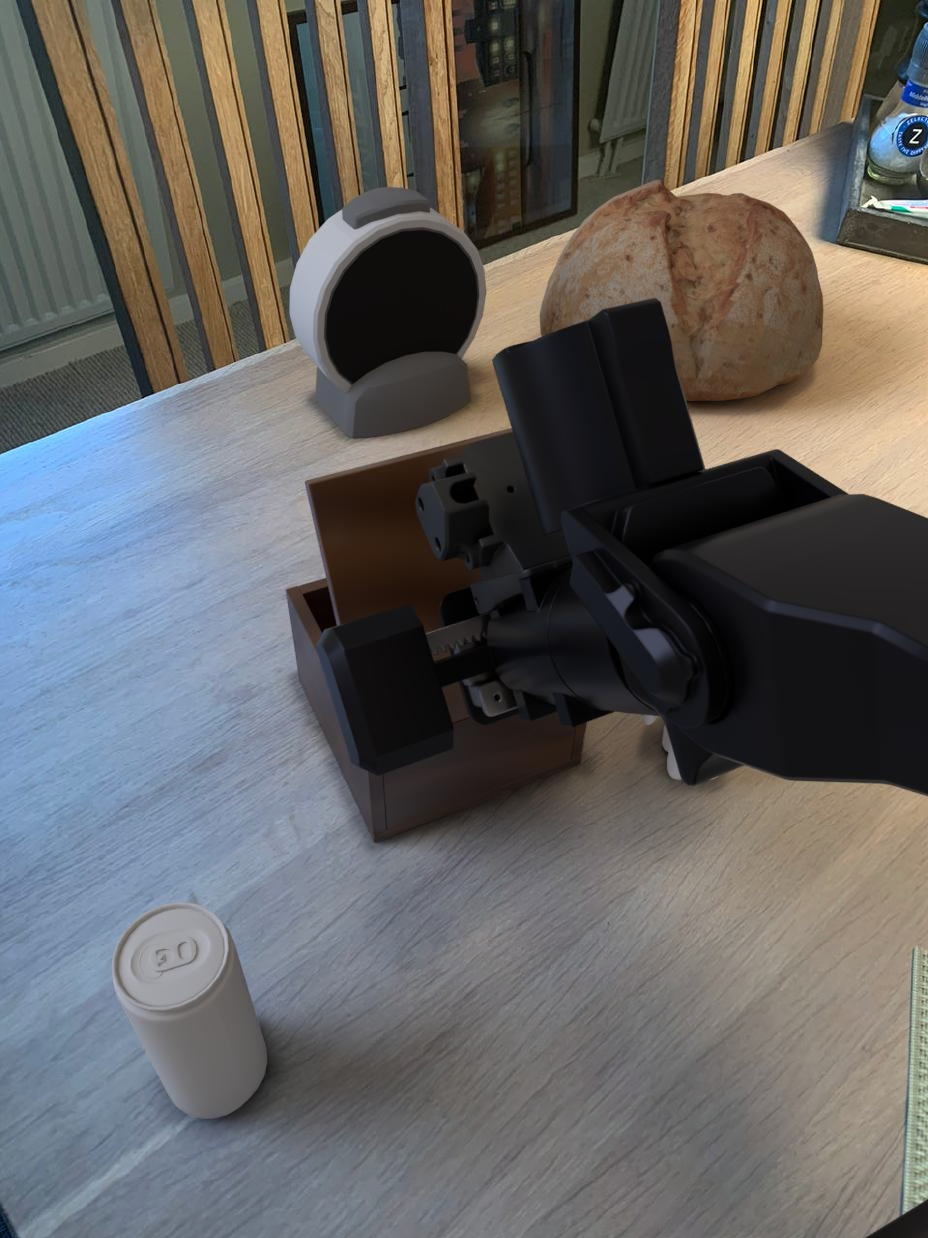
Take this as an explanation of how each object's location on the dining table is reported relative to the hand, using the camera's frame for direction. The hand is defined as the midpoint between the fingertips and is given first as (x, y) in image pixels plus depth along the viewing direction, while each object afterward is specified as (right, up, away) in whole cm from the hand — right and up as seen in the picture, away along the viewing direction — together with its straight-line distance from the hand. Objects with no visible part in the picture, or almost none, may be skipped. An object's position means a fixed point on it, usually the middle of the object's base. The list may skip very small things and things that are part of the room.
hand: (479, 641), depth 51 cm
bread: (+20, +27, +45) cm, 56 cm away
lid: (-1, +3, 0) cm, 3 cm away
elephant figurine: (+13, -7, +11) cm, 19 cm away
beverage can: (-13, -21, -3) cm, 24 cm away
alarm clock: (-7, +21, +39) cm, 45 cm away
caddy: (-3, -5, +13) cm, 14 cm away
